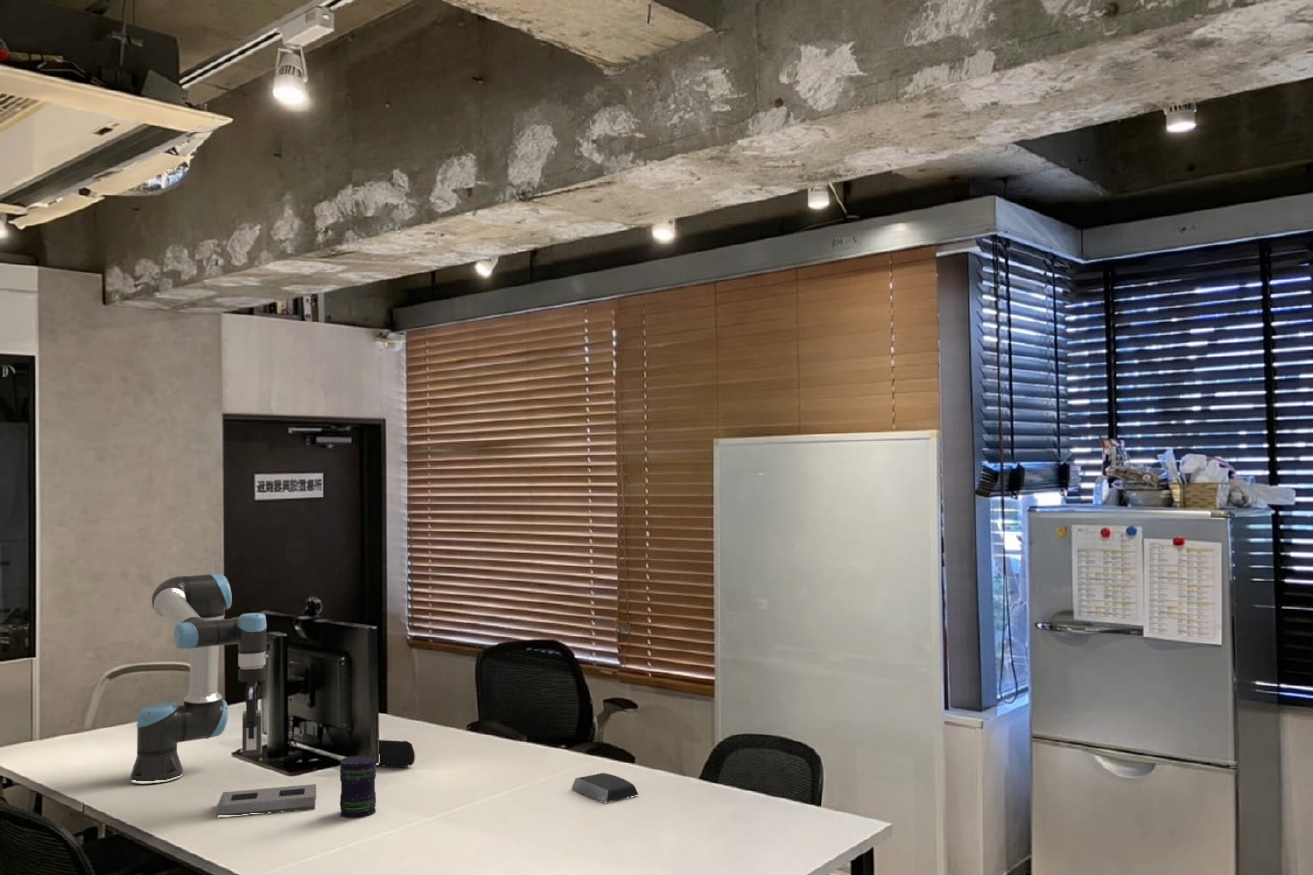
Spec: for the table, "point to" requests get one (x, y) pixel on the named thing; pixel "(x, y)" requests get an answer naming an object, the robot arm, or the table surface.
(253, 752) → the plug
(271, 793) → the socket board
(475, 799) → the table surface
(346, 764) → the storage jar
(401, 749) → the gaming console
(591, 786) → the external hard drive
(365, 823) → the table surface
